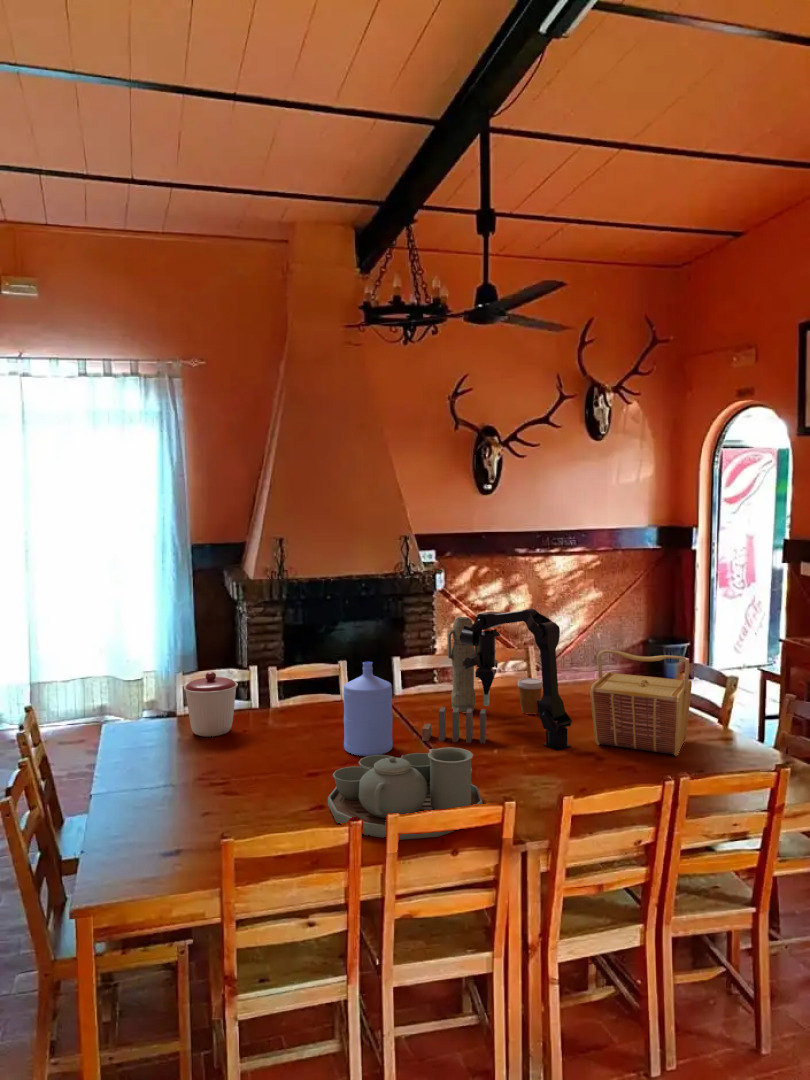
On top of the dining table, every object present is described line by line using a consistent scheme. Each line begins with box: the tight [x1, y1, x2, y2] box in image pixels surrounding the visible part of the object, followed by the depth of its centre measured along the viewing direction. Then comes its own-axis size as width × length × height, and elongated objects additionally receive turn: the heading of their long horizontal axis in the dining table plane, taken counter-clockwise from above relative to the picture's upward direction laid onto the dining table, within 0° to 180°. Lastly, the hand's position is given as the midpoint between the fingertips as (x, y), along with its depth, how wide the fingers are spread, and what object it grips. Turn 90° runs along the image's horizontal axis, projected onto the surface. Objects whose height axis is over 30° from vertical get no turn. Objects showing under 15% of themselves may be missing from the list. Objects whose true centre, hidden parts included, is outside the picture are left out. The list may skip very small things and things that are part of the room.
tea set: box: [327, 746, 484, 841], centre depth 206 cm, size 40×40×16 cm
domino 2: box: [451, 708, 460, 743], centre depth 262 cm, size 2×5×10 cm, turn 169°
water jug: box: [342, 661, 394, 757], centre depth 253 cm, size 16×16×28 cm
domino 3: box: [465, 709, 474, 744], centre depth 261 cm, size 2×5×10 cm, turn 169°
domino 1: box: [438, 706, 447, 742], centre depth 263 cm, size 2×5×10 cm, turn 169°
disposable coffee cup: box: [516, 677, 543, 714], centre depth 294 cm, size 10×10×12 cm
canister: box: [183, 671, 239, 738], centre depth 271 cm, size 18×18×21 cm
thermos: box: [447, 616, 479, 712], centre depth 297 cm, size 9×12×35 cm
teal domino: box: [483, 689, 491, 707], centre depth 275 cm, size 2×5×10 cm, turn 169°
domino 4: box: [479, 708, 487, 745], centre depth 260 cm, size 2×5×10 cm, turn 169°
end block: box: [421, 723, 432, 742], centre depth 264 cm, size 2×6×4 cm, turn 169°
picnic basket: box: [589, 649, 693, 757], centre depth 256 cm, size 29×26×30 cm
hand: (486, 692), depth 275 cm, fingers closed on teal domino, 5 cm apart
